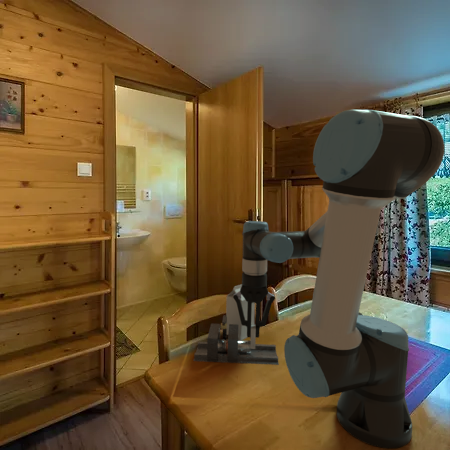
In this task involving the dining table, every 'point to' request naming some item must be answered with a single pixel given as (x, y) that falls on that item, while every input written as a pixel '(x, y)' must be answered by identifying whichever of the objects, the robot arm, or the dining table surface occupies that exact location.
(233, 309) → the milk carton
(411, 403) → the dining table surface
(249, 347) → the tube
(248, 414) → the dining table surface
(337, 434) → the dining table surface
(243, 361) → the collar rail
